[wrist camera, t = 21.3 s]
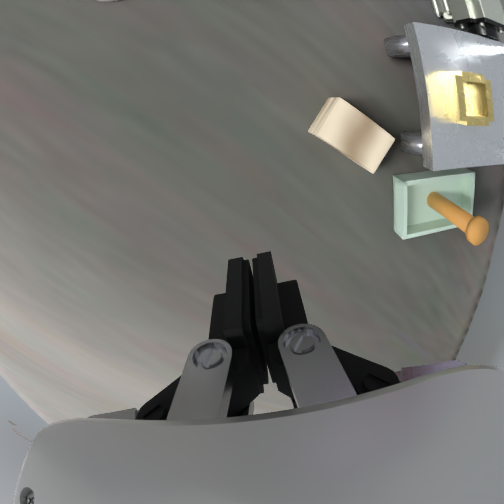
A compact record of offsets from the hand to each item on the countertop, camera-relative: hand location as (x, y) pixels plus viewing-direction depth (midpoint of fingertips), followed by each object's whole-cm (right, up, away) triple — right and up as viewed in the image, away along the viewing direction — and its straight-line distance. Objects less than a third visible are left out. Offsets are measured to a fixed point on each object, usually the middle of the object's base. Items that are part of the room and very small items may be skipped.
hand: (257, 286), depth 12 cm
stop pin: (+26, +9, +24) cm, 36 cm away
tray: (+26, +9, +24) cm, 37 cm away
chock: (+11, +16, +20) cm, 28 cm away
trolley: (+24, +23, +17) cm, 37 cm away
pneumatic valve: (+25, +35, +10) cm, 45 cm away
